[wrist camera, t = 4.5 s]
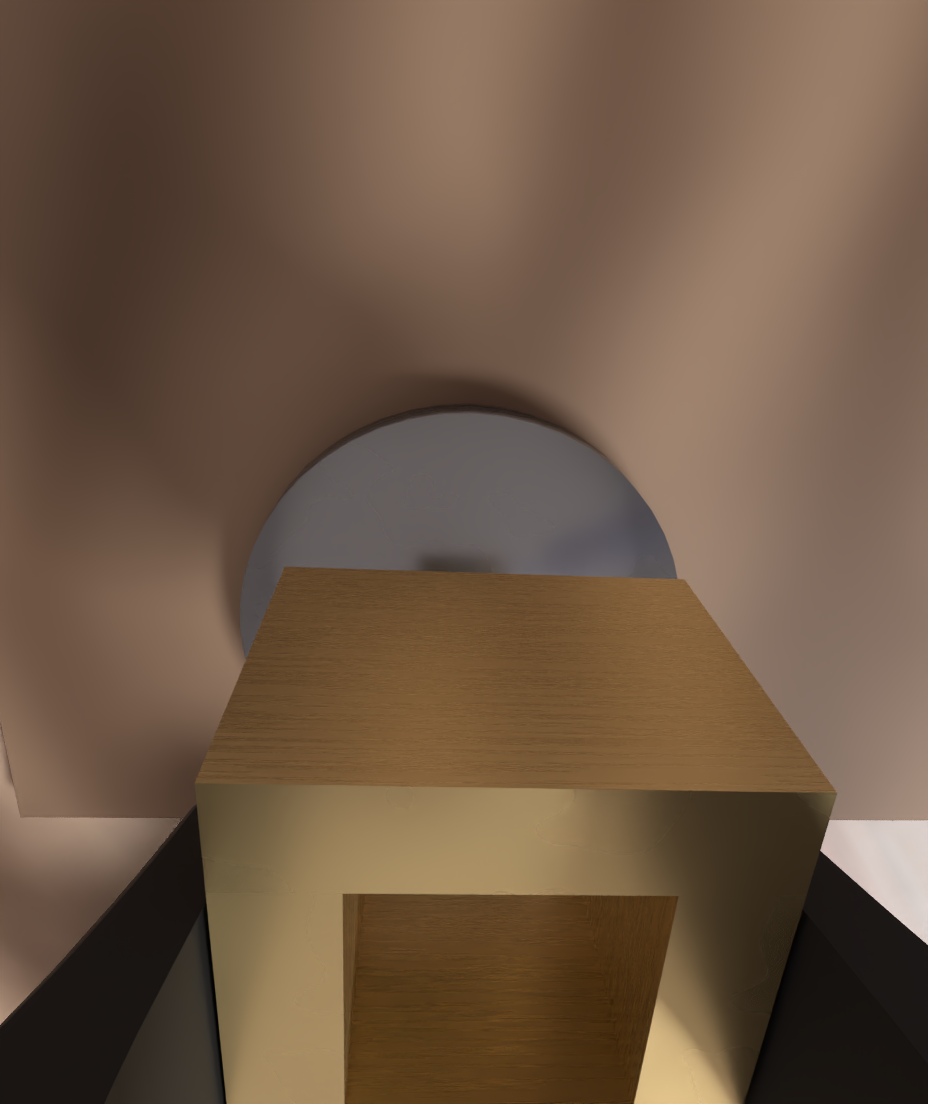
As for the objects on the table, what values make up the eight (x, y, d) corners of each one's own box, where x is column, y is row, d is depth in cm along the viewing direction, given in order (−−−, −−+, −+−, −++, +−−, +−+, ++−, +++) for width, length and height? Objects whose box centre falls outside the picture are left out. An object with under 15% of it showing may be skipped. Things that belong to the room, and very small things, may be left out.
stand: (697, 412, 14) (806, 483, 10) (638, 782, 17) (703, 948, 13) (235, 395, 13) (157, 464, 9) (260, 779, 16) (209, 952, 12)
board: (1257, -197, 11) (1300, -219, 11) (922, 802, 18) (938, 820, 18) (-195, -327, 10) (-230, -359, 9) (33, 797, 17) (20, 816, 16)
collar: (684, 578, 10) (837, 792, 6) (630, 878, 12) (722, 1176, 8) (284, 565, 10) (194, 782, 6) (296, 875, 11) (234, 1184, 8)
